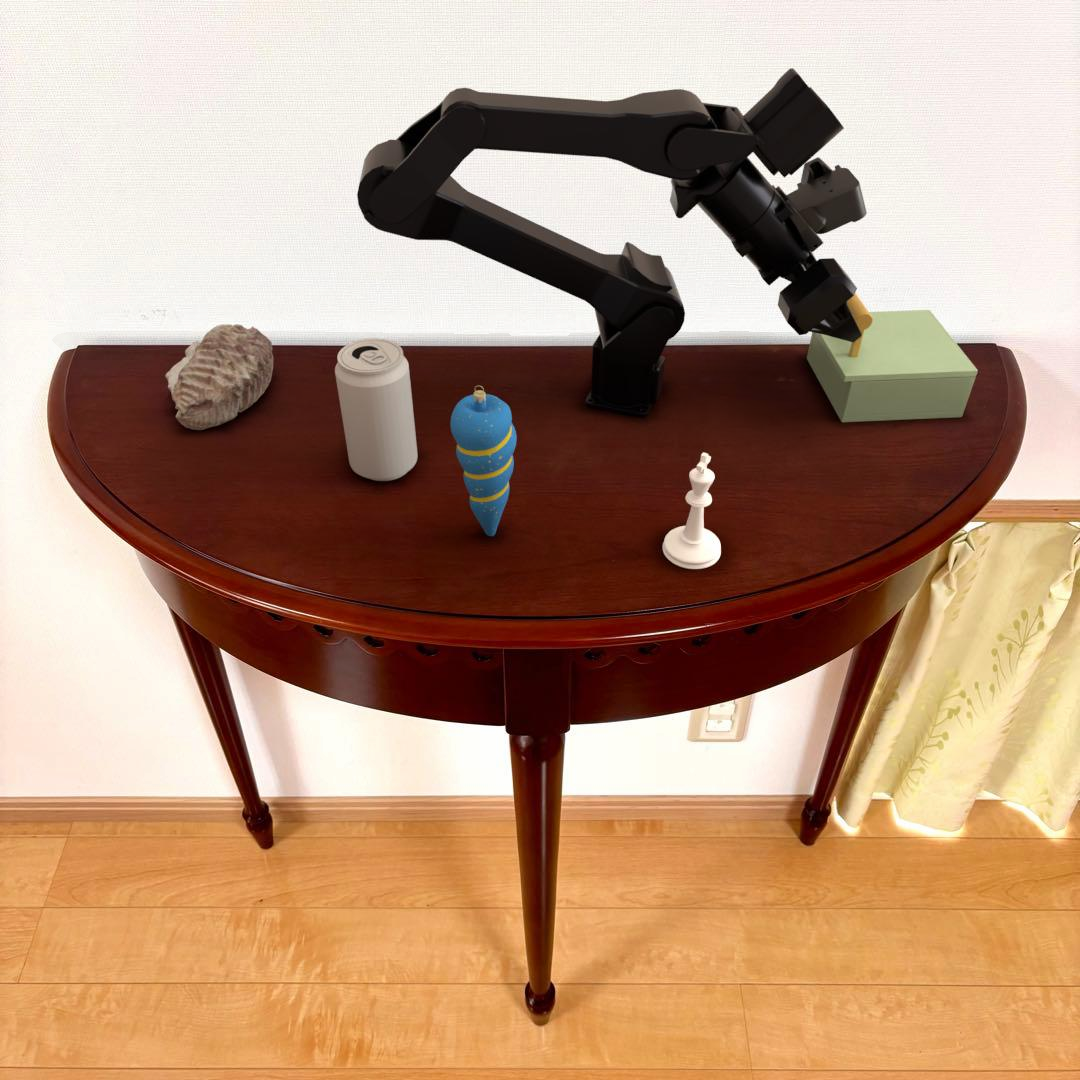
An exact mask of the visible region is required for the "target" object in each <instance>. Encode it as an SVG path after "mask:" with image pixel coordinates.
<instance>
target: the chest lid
mask: <svg viewBox="0 0 1080 1080" xmlns="http://www.w3.org/2000/svg"><path fill="white" fill-rule="evenodd" d="M847 305H848V307H849V309H850V311H851V313H852V315H853V317H854V319H855V321H856V323H857V325H858V327H859V329H860V331H861V333H862V336H861V337H860V338H859V339H858V340H856V341H855V342H849V341H845V340H842V339H838V338H835V337H831V336H827V335H823V334H819V333H816V335H817V337H818V339H819V340H820V342H821V344H822V345H823V347H824V349H825V350H826V352H827V354H828V356H829V357H830V359H831V361H832V362H833V364H834V366H835V368H836V369H837V371H838V373H839V374H840V376H841V378H842V379H843V381H844V382H852V381H877V380H901V379H926V378H950V377H974V376H975V377H977V374H978V371H979V370H978V369H977V368H976V366H975V365H974V364H973V362H972V361H971V360H970V358H969V357H968V356H967V355H966V353H965V352H964V351H963V350H962V349H961V347H960V346H959V345H958V343H957V342H956V341H955V340H954V339H953V337H952V336H951V335H950V334H949V332H948V331H947V330H946V329H945V327H944V326H943V324H942V323H941V322H940V321H939V320H938V318H937V317H936V316H935V314H934V313H933V312H932V311H931V310H930V309H915V310H914V309H911V310H885V311H883V310H881V311H869V310H868V309H867V307H866V306H865V304H864V303H863V301H862V300H861V298H860V297H859V296H858V294H857V293H856V292H855V294H854V296H853V297H852V298H850V299H849V300H848V301H847Z"/></svg>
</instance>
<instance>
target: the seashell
mask: <svg viewBox="0 0 1080 1080" xmlns="http://www.w3.org/2000/svg"><path fill="white" fill-rule="evenodd" d="M184 355H185V357H183V358H182V359H181V360H180V361H178V362H177V363H176V364H174V365H173V366H172V367H171V368H170V370H169V371H167V372H166V374H165V375H164V376H165V379H166V381H167V382H168V385H167V388H168V389H169V391H170V392H171V393H170V394H171V399H172V401H173V402H174V403H175V407H174V409H175V410H178V411H177V412H176V415H175V418H176V420H177V421H178V422H179V423H180V424H181V425H182V426H184V428H185V429H189V430H195V431H203V430H206V429H209V428H212V427H213V428H214V427H216V426H217V427H218V426H221V425H223V424H225V423H227V422H230V421H232V420H234V419H235V418H236V417H237V416H238V413H242V412H244V411H245V410H247V409H249V408H250V407H252V406H253V404H254V403H256V402H257V401H258V399H259V398H260V397H261V396H262V395H263V394H264V393H265V391H266V390H267V388H268V387H269V385H270V383H271V381H272V377H273V369H274V355H273V343H272V341H271V340H270V339H269V338H268V337H267V336H266V335H265V334H263V333H262V332H261V331H260V330H259V329H258V328H256V327H254V326H251V327H250V328H247V327H244V326H243V325H242V324H237V323H236V324H231V323H229V324H219V325H216V326H214V327H213V328H211V329H210V330H209V331H208V332H206V333H205V334H204V336H203V338H202V340H201V342H199V340H197V341H193V342H192V343H191V344H190V345H189V346H188V347H187V348H186V349H185V350H184Z"/></svg>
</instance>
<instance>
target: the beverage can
mask: <svg viewBox="0 0 1080 1080" xmlns="http://www.w3.org/2000/svg"><path fill="white" fill-rule="evenodd" d="M336 358H337V363H336V365H335V367H334V374H335V381H336V388H337V393H338V400H339V407H340V411H341V418H342V425H343V433H344V437H345V444H346V450H347V451H346V452H347V457H348V462H349V466H350V468H351V469H352V471H353V472H354V473H355V474H357V475H359V476H361V477H363V478H365V479H369V480H371V481H376V482H377V481H378V482H389V481H393V480H398V479H400V478H401V477H403V476H405V475H406V474H407V473H408V472H410V471H411V470H412V469H413V468H414V467H415V465H416V464H417V461H418V457H419V456H418V455H419V454H418V445H417V435H416V425H415V424H416V423H415V416H414V405H413V394H412V393H413V392H412V385H411V384H412V383H411V377H410V376H411V375H410V365H409V361H408V359H407V358H406V357H405V355H404V350H403V348H402V347H401V345H399V344H398V343H397V342H394V341H392V340H389V339H385V338H378V337H377V338H375V337H374V338H364V339H363V338H362V339H357V340H355V341H352V342H350V343H348V344H346V345H344V346H343V347H342V348H341V349H340V350H339V352H338V353H337V357H336Z"/></svg>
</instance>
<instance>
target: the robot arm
mask: <svg viewBox="0 0 1080 1080" xmlns="http://www.w3.org/2000/svg"><path fill="white" fill-rule="evenodd" d="M844 129H845V127H844V126H843V124H842V123H841V122H840V120H839V119H838V117H837V115H835V114H834V112H833V111H832V110H831V109H830V107H829V106H828V105H827V103H826V102H824V100H823V99H822V98H821V97H820V96H819V94H818V93H816V91H815V90H814V89H813V88H812V87H811V86H809V85H808V84H807V83H806V81H804V78H803V77H802V76H801V75H800V74H799V73H798V71H796V69H794V68H789V69H788V70H787V71H785V72H784V73H783V74H782V75H781V76H780V77H779V78H778V79H777V81H776V82H775V84H774V85H773V87H772V88H771V89H770V90H769V91H768V92H766V93H765V94H764V95H763V97H762V98H760V99H759V100H758V101H757V102H756V103H755V104H754V105H752V107H751V108H750V109H749V110H748V111H746V112H745V114H744V115H743V113H742V112H741V110H740V109H739V108H738V107H737V106H731V105H723V104H716V103H708V102H702V100H701V99H700V98H699V97H698V96H697V95H696V94H695V93H694V92H692V91H690V90H686V89H683V88H678V89H677V88H676V89H666V90H657V91H649V92H648V91H647V92H641V93H638V94H634V95H632V96H628V97H624V98H622V99H615V100H593V99H581V98H565V97H555V96H553V97H552V96H541V95H540V96H538V95H527V94H526V95H525V94H512V93H499V92H486V91H485V92H484V91H478V90H475V89H472V88H469V87H460V88H458V87H457V88H455V89H454V90H452V91H450V92H449V93H448V94H447V95H446V96H445V97H444V98H443V100H441V102H440V103H438V105H437V106H436V107H434V108H433V109H432V110H430V111H429V112H427V113H426V114H425V115H422V116H421V117H420V118H418V119H417V120H416V121H414V122H413V123H412V124H411V125H409V126H408V128H406V129H405V130H404V131H403V132H402V133H401V134H400V135H399V136H398V137H397V138H396V139H388V140H386V141H383V142H381V143H378V144H376V145H374V146H373V147H372V148H371V149H370V150H369V151H368V153H367V154H366V156H365V158H364V159H363V164H362V168H361V175H360V179H359V183H358V189H357V194H356V196H357V203H358V207H359V209H360V211H361V214H362V216H363V218H364V220H365V221H366V222H367V223H368V224H369V225H370V226H371V227H373V228H375V229H376V230H378V231H382V232H384V233H388V234H392V235H396V236H399V237H404V238H408V239H411V240H414V241H415V240H416V241H446V242H451V243H454V244H457V245H459V246H461V247H464V249H468V250H470V251H472V252H473V253H477V254H478V255H481V256H483V257H486V258H488V259H490V260H493V261H494V262H497V263H499V264H501V265H503V266H506V267H508V268H510V269H512V270H515V271H517V272H519V273H522V274H524V275H527V276H529V277H531V278H533V279H535V280H537V281H539V282H542V283H544V284H546V285H549V286H551V287H553V288H555V289H556V290H560V291H562V292H564V293H567V294H569V295H571V296H573V297H575V298H577V299H579V300H582V301H584V302H586V303H587V304H589V305H590V306H591V307H592V308H593V309H594V313H595V318H596V321H597V326H598V332H599V335H598V336H597V338H596V339H595V340H594V342H593V344H592V354H591V355H592V358H591V382H590V391H589V393H588V395H587V396H586V398H585V402H584V403H585V406H586V407H590V408H595V409H599V410H604V411H608V412H609V411H610V412H614V413H620V414H624V415H629V416H633V417H634V416H635V417H641V418H644V417H647V416H648V415H649V413H650V410H651V408H652V406H653V405H655V404H657V402H658V400H659V398H660V396H661V394H662V391H663V382H664V373H665V363H666V358H665V356H662V353H663V352H664V350H665V348H666V345H667V344H668V342H669V340H671V339H672V338H674V337H675V336H677V334H678V333H679V332H680V331H681V329H682V328H683V325H684V323H685V317H686V311H685V307H684V304H683V301H682V298H681V295H680V292H679V289H678V287H677V284H676V282H675V279H674V276H673V274H672V272H671V271H670V269H669V268H668V267H667V266H665V263H664V260H663V256H662V255H655V254H650V253H647V252H645V251H643V250H641V248H639V247H637V246H636V245H634V243H631V242H630V241H626V242H625V243H624V247H623V249H622V251H621V253H620V254H618V253H617V254H616V253H611V254H610V253H602V252H598V251H596V250H595V249H592V248H590V247H587V246H586V245H584V244H581V243H579V242H577V241H575V240H572V239H571V238H568V237H566V236H564V235H562V234H560V233H558V232H556V231H554V230H551V229H549V228H547V227H545V226H543V225H541V224H539V223H536V222H534V221H532V220H530V219H528V218H526V217H523V216H521V215H519V214H517V213H514V212H513V211H511V210H508V209H506V208H504V207H502V206H501V205H498V204H496V203H494V202H491V201H490V200H487V199H485V198H483V197H480V196H478V195H477V194H474V193H473V192H470V191H468V190H467V189H466V188H464V187H463V186H462V185H461V184H460V183H459V182H458V181H457V180H456V179H455V178H454V177H453V176H451V175H452V174H453V173H454V171H456V169H457V168H458V167H459V166H460V164H461V163H462V162H463V161H464V160H465V159H466V158H467V157H468V156H470V154H472V153H473V152H474V151H475V150H489V151H503V152H504V151H505V152H520V153H532V154H533V153H534V154H535V153H537V154H549V155H563V156H576V157H577V156H578V157H590V158H591V157H594V158H605V159H610V160H614V161H617V162H620V163H623V164H625V165H627V166H630V167H632V168H634V169H637V170H639V171H641V172H644V173H648V174H652V175H656V176H659V177H663V178H666V179H670V183H671V193H670V198H669V203H670V205H671V208H672V210H673V212H674V214H675V217H676V218H677V219H683V218H684V217H685V216H686V215H688V213H689V212H691V211H692V210H693V209H694V208H695V207H696V206H698V207H699V208H700V209H701V210H702V211H703V213H705V215H706V216H707V217H708V218H709V219H710V220H711V221H712V222H713V223H714V224H715V225H716V226H717V228H718V229H720V231H721V232H722V233H723V234H724V235H725V236H726V237H727V238H728V239H729V240H730V242H731V244H732V245H733V248H734V250H735V251H736V252H737V254H738V255H739V256H740V257H741V258H744V257H746V258H747V260H749V262H750V263H751V264H752V265H753V266H754V267H755V268H756V269H757V271H758V274H759V275H760V276H761V279H762V281H764V283H766V285H768V286H771V285H772V284H774V283H775V282H776V281H777V280H778V279H779V278H781V279H785V280H786V281H788V282H790V283H789V284H788V285H787V286H785V287H784V288H783V289H781V290H780V291H779V295H778V301H777V306H778V308H779V310H780V312H781V314H782V316H783V318H784V319H785V321H786V324H788V325H789V327H791V328H792V329H793V330H794V331H795V332H796V333H797V335H798V336H803V335H807V334H808V333H812V332H814V333H819V334H823V335H827V336H831V337H835V338H838V339H842V340H845V341H849V342H855V341H856V340H858V339H859V338H860V337H861V336H862V333H861V331H860V329H859V327H858V325H857V323H856V321H855V319H854V317H853V315H852V313H851V311H850V309H849V307H848V305H847V301H848V300H849V299H850V298H852V297H853V296H854V294H855V293H856V292H857V290H858V288H857V286H856V284H855V283H854V282H853V280H852V279H851V278H850V276H849V275H848V273H847V272H846V271H845V270H844V268H843V267H842V266H841V265H840V263H839V262H838V261H837V260H836V259H835V258H834V257H829V258H827V257H826V258H819V259H818V260H817V258H816V256H815V255H814V253H813V252H815V251H816V250H817V249H818V248H819V247H821V246H822V245H823V244H824V241H823V239H822V238H821V237H820V236H819V235H824V234H827V233H830V232H832V231H834V230H837V229H838V228H841V227H842V226H845V225H847V224H850V223H852V222H853V223H856V222H859V221H860V220H862V219H864V218H865V216H866V215H867V213H868V212H867V209H866V204H865V200H864V196H863V191H862V188H861V184H860V181H859V180H858V178H857V177H856V176H855V175H854V174H853V172H852V171H851V170H850V169H849V168H847V167H841V165H840V164H836V165H835V166H834V170H833V169H832V168H831V167H830V166H829V165H828V164H827V163H826V162H825V161H824V160H823V159H821V158H820V157H819V156H818V157H816V158H813V157H814V156H815V155H816V154H817V153H819V152H820V151H821V150H822V149H823V148H824V147H825V146H826V145H828V143H830V141H832V140H833V139H834V138H836V136H838V135H839V134H840V133H841V132H842V131H843V130H844ZM752 154H754V155H755V156H756V158H757V159H758V160H759V161H760V163H762V165H763V166H764V167H765V169H767V170H768V171H769V173H770V174H771V175H772V176H773V177H774V176H776V175H778V173H779V174H780V175H781V176H782V177H783V178H784V179H785V178H786V177H788V175H789V176H792V175H793V174H795V173H796V172H798V170H799V169H800V168H802V167H803V169H802V174H801V178H800V182H798V183H797V184H796V186H797V189H795V190H793V191H791V192H790V193H787V194H786V193H785V191H783V189H782V188H781V187H780V186H779V185H777V186H774V185H775V184H771V183H770V182H769V181H768V179H767V178H766V177H765V176H764V175H763V174H762V172H761V171H760V170H759V169H758V167H757V166H756V165H755V164H754V162H752V160H750V158H749V157H750V156H751V155H752ZM812 158H813V159H812Z"/></svg>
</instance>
